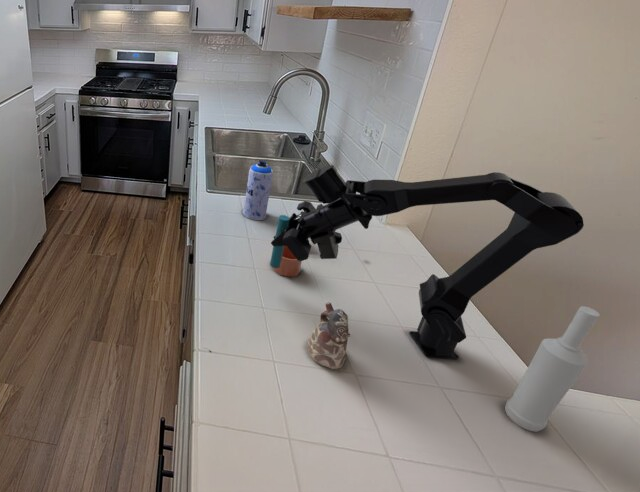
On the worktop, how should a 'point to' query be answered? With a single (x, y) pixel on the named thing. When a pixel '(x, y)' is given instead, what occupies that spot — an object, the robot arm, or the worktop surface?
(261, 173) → the aerosol can
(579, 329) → the bottle
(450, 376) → the worktop surface
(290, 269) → the tumbler
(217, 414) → the worktop surface
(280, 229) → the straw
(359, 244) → the worktop surface
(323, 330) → the figurine
